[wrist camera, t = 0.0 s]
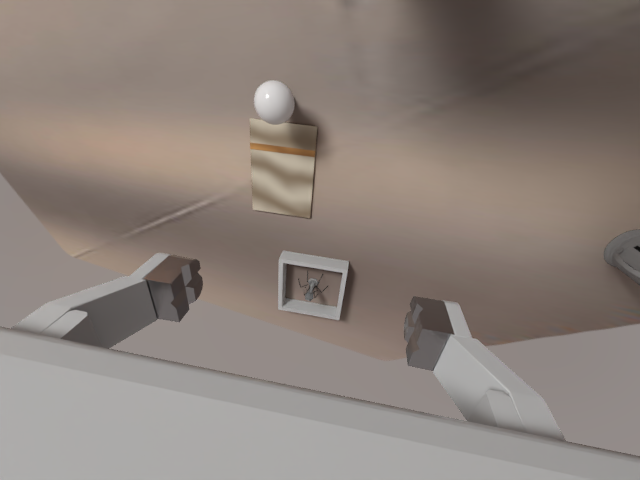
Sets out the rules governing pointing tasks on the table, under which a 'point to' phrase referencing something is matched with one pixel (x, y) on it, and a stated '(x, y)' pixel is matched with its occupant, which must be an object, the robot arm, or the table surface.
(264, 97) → the lightbulb
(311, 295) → the bacteriophage
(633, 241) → the glass holder
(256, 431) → the robot arm
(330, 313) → the specimen tray
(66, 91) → the table surface
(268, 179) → the board
